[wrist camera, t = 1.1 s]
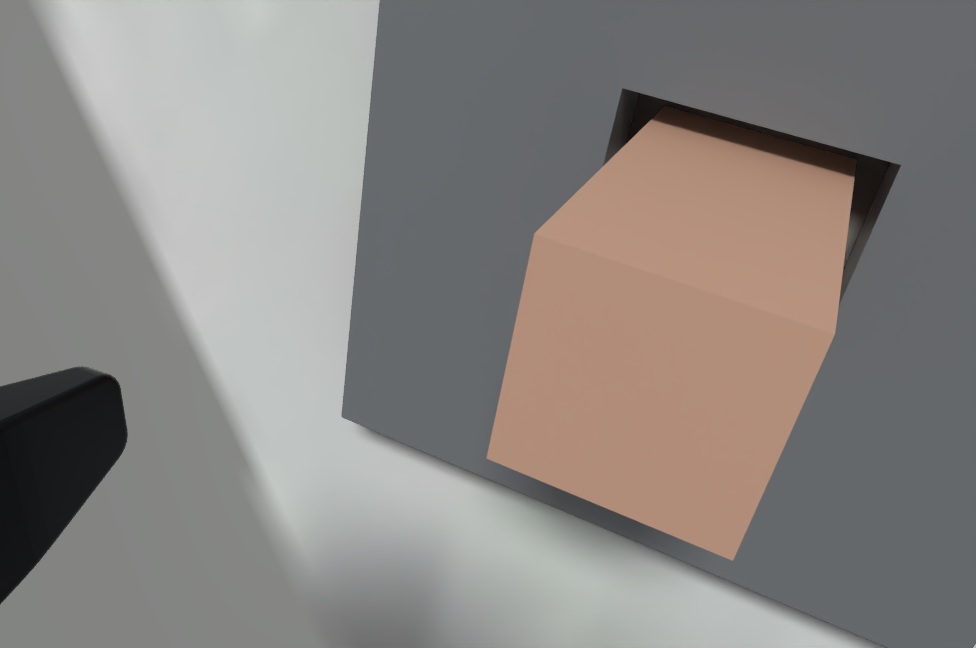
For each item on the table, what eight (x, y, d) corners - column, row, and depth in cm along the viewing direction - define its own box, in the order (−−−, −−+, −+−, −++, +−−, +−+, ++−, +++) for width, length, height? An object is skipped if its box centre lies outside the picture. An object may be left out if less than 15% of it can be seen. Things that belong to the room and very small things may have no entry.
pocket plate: (1443, -114, 12) (1520, -113, 11) (948, 618, 20) (953, 675, 19) (450, -278, 16) (406, -295, 15) (374, 385, 25) (341, 417, 23)
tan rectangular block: (856, 160, 17) (835, 333, 10) (787, 327, 19) (733, 560, 12) (664, 106, 18) (534, 233, 11) (619, 270, 20) (486, 458, 13)
